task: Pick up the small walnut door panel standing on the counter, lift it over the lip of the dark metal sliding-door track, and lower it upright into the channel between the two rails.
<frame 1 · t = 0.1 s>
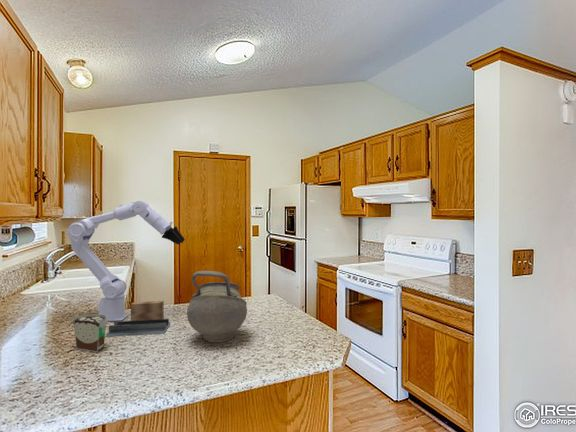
hand: (181, 242, 142), 32 cm above the countertop, tool tilted 50°, fingers open, 7 cm apart
track: (139, 330, 124), on the countertop
pot: (217, 338, 115), on the countertop
door panel: (147, 322, 134), on the countertop
food container: (95, 347, 109), on the countertop
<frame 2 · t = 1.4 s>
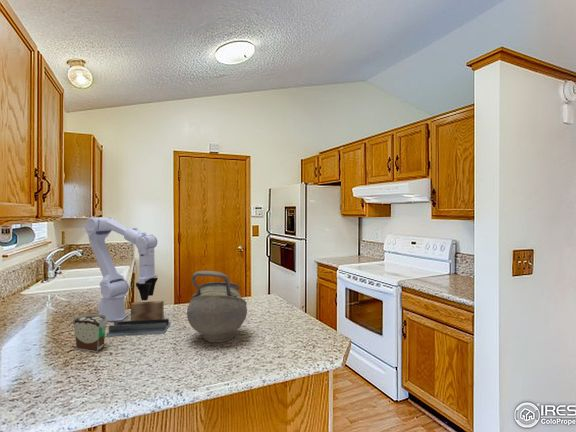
hand: (147, 297, 134), 10 cm above the countertop, tool pointing down, fingers open, 7 cm apart
nothing on the countertop moved.
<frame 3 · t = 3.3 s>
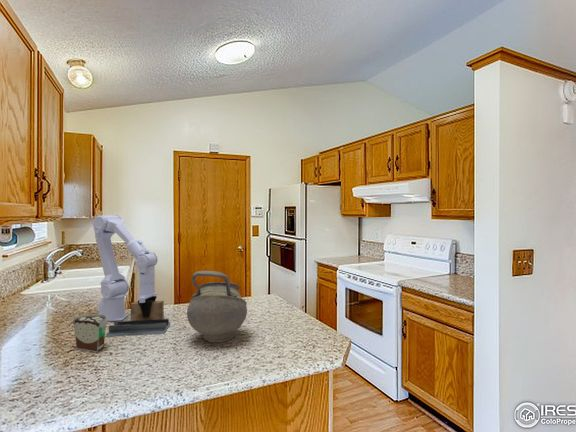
hand: (147, 315, 134), 2 cm above the countertop, tool pointing down, fingers closed on door panel, 3 cm apart
door panel: (147, 321, 134), on the countertop, touching gripper
everything else where it was.
when the fingers open (5 cm above the countertop, at t = 6.8 s): door panel stays where it is, resting on track.
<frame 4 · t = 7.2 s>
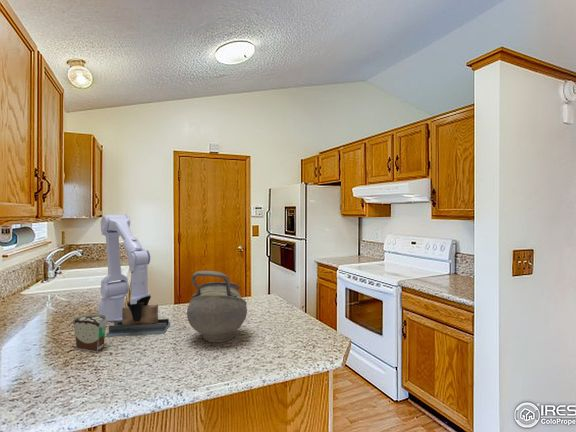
hand: (139, 318, 124), 5 cm above the countertop, tool pointing down, fingers open, 6 cm apart
door panel: (140, 327, 124), point 1 cm above the countertop, touching track
everything else where it was.
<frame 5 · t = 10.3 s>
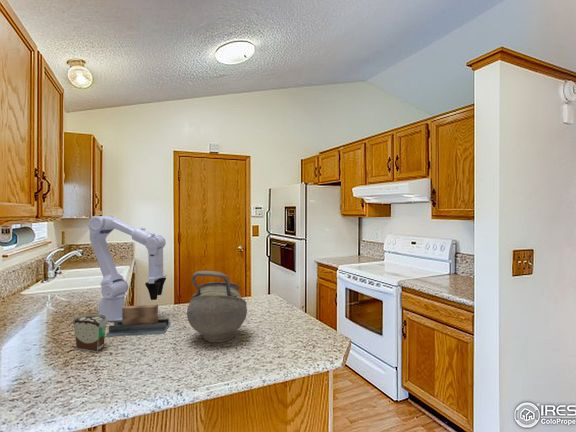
hand: (156, 297, 136), 9 cm above the countertop, tool pointing down, fingers open, 7 cm apart
nothing on the countertop moved.
at the end: door panel inside the target area on the track (0.3 cm from its centre), point 1.0 cm above the track's base; door panel tilted 0°; the gripper is holding nothing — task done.
